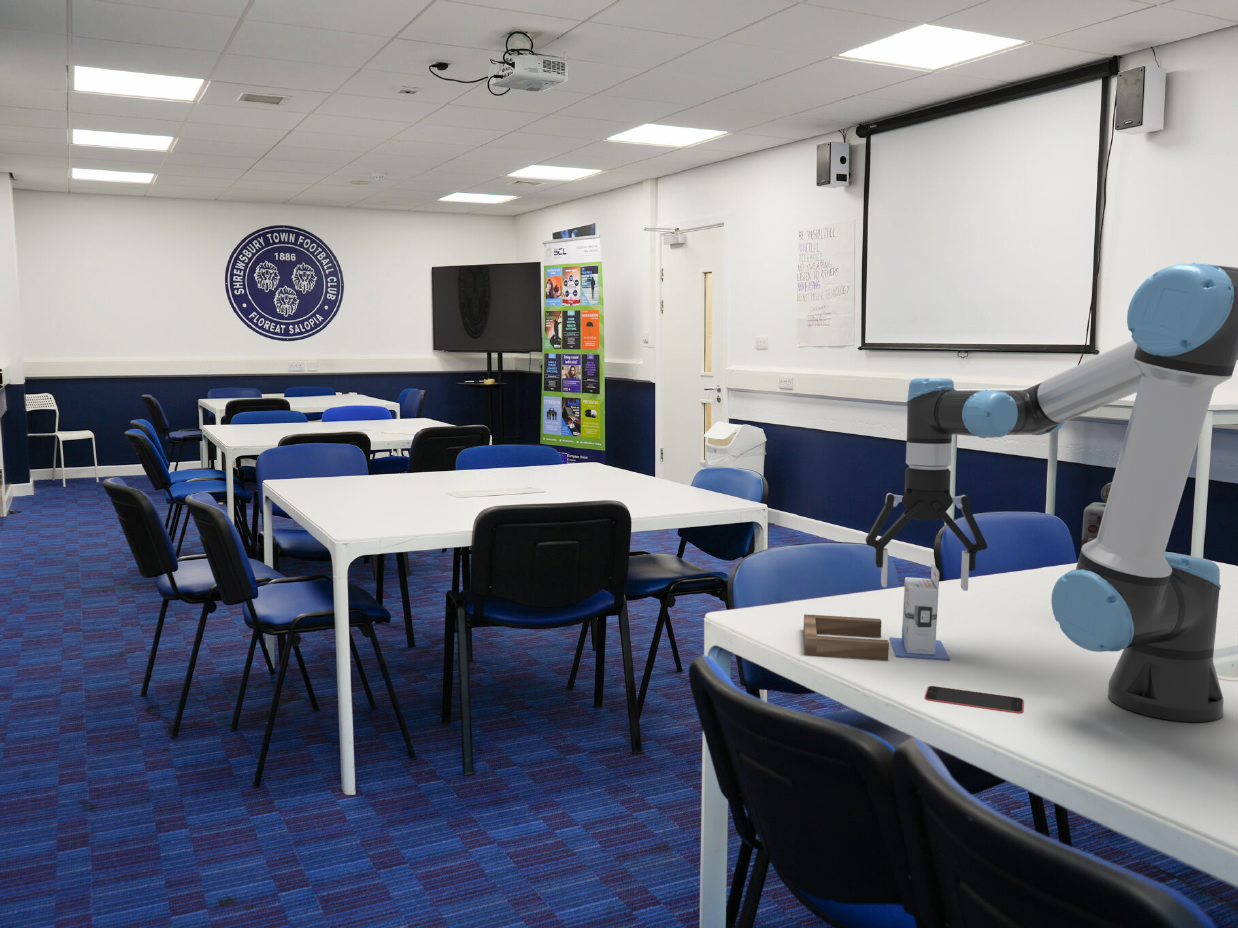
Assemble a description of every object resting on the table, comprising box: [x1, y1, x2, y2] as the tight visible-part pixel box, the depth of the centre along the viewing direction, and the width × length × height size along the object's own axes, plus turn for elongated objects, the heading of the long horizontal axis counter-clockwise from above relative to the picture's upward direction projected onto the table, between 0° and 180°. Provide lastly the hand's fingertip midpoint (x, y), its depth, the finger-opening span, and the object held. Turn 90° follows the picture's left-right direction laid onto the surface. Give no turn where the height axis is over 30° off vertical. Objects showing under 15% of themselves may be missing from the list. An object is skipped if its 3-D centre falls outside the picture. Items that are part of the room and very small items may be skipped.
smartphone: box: [923, 685, 1025, 715], centre depth 148 cm, size 7×1×14 cm
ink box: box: [901, 562, 940, 655], centre depth 172 cm, size 9×5×15 cm, turn 170°
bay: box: [803, 613, 890, 661], centre depth 175 cm, size 16×14×3 cm
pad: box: [889, 636, 951, 661], centre depth 173 cm, size 11×9×1 cm
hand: (923, 587), depth 172 cm, fingers open, 13 cm apart
